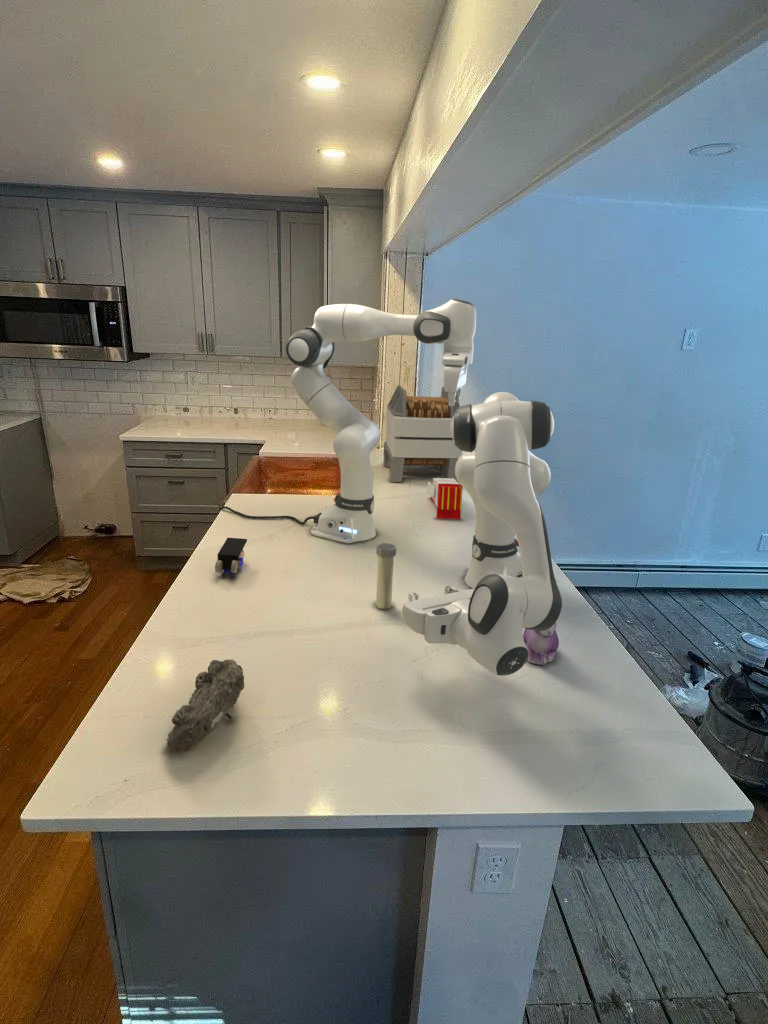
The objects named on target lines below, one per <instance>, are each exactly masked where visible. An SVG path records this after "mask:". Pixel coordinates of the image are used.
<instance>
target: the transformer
mask: <svg viewBox="0 0 768 1024" xmlns="http://www.w3.org/2000/svg"><path fill="white" fill-rule="evenodd" d="M440 393H441V394H440V396H415V395H414V396H413V395H412V396H411V395H407V394H408V393H407V390H406V389H404V388H403V387H402V385H399V384H398V385H397V386H396V388H395V390H394V392H393V394H392V395H391V398H390V400H389V402H388V404H387V405H386V413H385V414H386V415H385V423H386V428H385V438H384V442H383V466H384V467H388V468H389V475H388V476H389V477H388V478H389V480H390V482H391V483H402V482H403V475H404V469H405V466H406V467H407V466H411V467H412V466H413V467H415V466H416V467H417V466H418V467H436V468H437V470H438V469H439V473H440V474H441V475H443V478H454V479H455V480H456V481H457V478H456V475H455V466H456V462H457V460H458V459H459V457H460V456H461V455H462V454H463V451H462V450H460V449H459V448H457V447H456V446H455V442H454V441H453V439H452V436H451V421H452V418H453V416H454V412H455V411H456V410H457V409H458V408H459V407H461V405H460V401H458V402H455V405H454V406H449V405H448V401H449V400H448V392H445V390H444V386H442V387H441V392H440ZM457 482H458V481H457ZM458 483H459V482H458Z"/></svg>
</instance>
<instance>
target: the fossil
mask: <svg viewBox="0 0 768 1024" xmlns="http://www.w3.org/2000/svg"><path fill="white" fill-rule="evenodd" d="M243 670H244V669H243V667H242V665H240V664H237V662H236V661H235V660H234V659H232V658H231V659H227V658H226V659H224V660H223V661H222V660H217V659H212V660H211V661H210V663H209V665H208V666H207V671H201V672H199V673H198V674H197V675H196V676H195V680H194V684H195V685H194V687H195V689H194V690H193V693H192V694H191V697H190V698H189V700H188V704H184V705H182V706H181V707H180V709H177V710H176V711H175V713H174V715H173V716H172V718H171V723H172V724H173V727H172V730H171V731H170V732H168V734H167V738H166V741H167V742H166V745H167V749H168V750H169V751H173V752H174V753H176V754H178V753H182V752H188V751H189V752H192V751H193V750H195V748H196V747H197V746H199V744H200V743H201V742H203V741H204V740H205V739H206V738H207V737H208V736H209V735H210V734H211V733H212V732H214V730H215V729H217V727H218V726H219V724H220V722H221V721H222V720H223V719H224V718H225V716H226V717H227V719H229V720H233V717H232V715H230V714H229V710H230V709H231V708H234V706H235V704H236V703H237V702H238V699H239V697H240V695H241V693H242V691H243V690H245V689H244V688H245V675H244V671H243Z"/></svg>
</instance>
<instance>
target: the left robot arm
mask: <svg viewBox="0 0 768 1024" xmlns="http://www.w3.org/2000/svg"><path fill="white" fill-rule="evenodd" d="M476 327H477V309H476V306H475V305H474V304H473V303H472V302H470V301H467V300H463V299H458V298H451V299H450V300H448V301H447V302H445V303H444V304H441V305H439V306H437V307H435V308H431V309H427V310H424V311H422V312H421V313H419V314H399V313H391V312H386V311H383V310H380V309H377V308H374V307H370V306H366V305H361V304H355V303H335V304H327V305H322V306H320V307H318V308H317V309H316V311H315V313H314V317H313V325H312V326H310V325H306V326H305V327H303V328H301V329H299V330H298V331H295V333H293V334H292V335H291V336H290V337H289V338H288V339H287V340H286V344H285V354H286V357H287V359H289V361H290V362H292V364H294V365H296V366H297V367H295V369H294V370H293V371H292V373H291V375H290V380H291V381H290V383H291V384H292V386H293V388H294V390H295V391H296V393H297V395H298V396H299V397H300V399H301V400H302V401H303V403H304V404H305V405H306V407H307V408H308V409H309V410H310V411H311V412H312V413H313V415H314V416H315V417H316V418H317V419H318V420H319V422H320V423H321V424H323V425H324V426H326V427H328V428H330V429H331V430H332V431H334V432H335V433H336V436H335V438H334V439H333V443H332V446H333V448H332V449H333V451H334V454H335V455H336V457H337V462H338V466H339V473H340V488H339V489H340V490H339V491H338V492H337V494H336V495H335V496H334V497H333V502H334V504H333V505H331V506H329V507H328V508H326V509H325V510H323V512H319V513H317V514H315V515H312V516H307V517H306V518H305V519H304V520H303V521H300V519H298V518H297V517H294V516H292V515H269V516H268V515H267V516H266V515H262V516H261V515H258V516H257V515H249V514H244V513H242V512H239V511H238V510H234V509H233V508H231V507H229V506H225V505H224V506H221V507H220V508H219V511H222V510H228V511H229V512H231V513H233V514H236V515H238V516H241V517H243V518H246V519H254V520H256V519H257V520H258V519H259V520H262V519H263V520H266V519H267V520H269V519H270V520H271V519H273V520H275V519H291V520H294V522H296V523H297V524H299V525H305V524H306V523H307V522H308V521H310V520H313V524H314V525H313V526H312V528H311V530H310V533H311V536H315V537H319V538H323V539H326V540H330V541H336V542H339V543H343V544H352V543H357V542H365V541H368V540H372V539H373V538H375V537H376V535H377V532H376V528H375V523H374V513H373V512H374V509H375V496H374V472H373V470H372V466H371V465H372V464H371V460H370V459H371V457H370V455H371V452H372V451H373V450H374V449H376V448H377V446H378V445H379V442H380V439H381V436H382V435H381V429H380V427H379V425H378V424H377V423H376V422H375V421H373V420H371V419H369V418H368V417H366V415H364V414H363V413H362V412H361V411H360V410H358V409H357V408H356V407H355V406H353V404H352V403H350V402H349V400H347V399H346V398H345V397H344V396H343V394H342V393H341V392H340V391H339V389H338V388H337V387H336V386H335V385H334V384H333V382H332V381H331V380H330V379H329V378H328V377H327V376H326V374H325V372H324V369H326V368H327V366H328V365H329V362H330V360H331V359H332V357H333V356H334V352H335V350H336V343H335V342H353V343H356V342H366V341H371V340H376V339H378V338H384V337H388V336H409V337H415V338H416V339H417V340H418V341H420V343H423V344H426V345H434V344H435V345H436V344H443V354H442V362H441V364H442V365H443V387H444V390H445V392H448V400H449V401H448V405H449V406H454V405H455V402H460V400H461V393H462V390H463V388H464V387H465V386H466V383H467V373H468V368H469V365H473V360H474V359H473V358H474V347H475V345H474V337H475V334H476Z"/></svg>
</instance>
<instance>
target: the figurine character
mask: <svg viewBox="0 0 768 1024" xmlns="http://www.w3.org/2000/svg"><path fill="white" fill-rule="evenodd" d="M247 542H248V538H240V537H226V539H225V541H224V543H223V544H222V546H221V547H220V549H219V551H218V552H217V560H216V562H215V564H214V572H215V573H221V577H222V578H224V577H225V576H226V574H227V573H230V574H231V573H232V574H231V578H234V577H235V575H236V573H237V572H239V571H240V567H242V566H243V565H244V564H245V562H244V558H245V551H244V547H245V546H246V544H247Z"/></svg>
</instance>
